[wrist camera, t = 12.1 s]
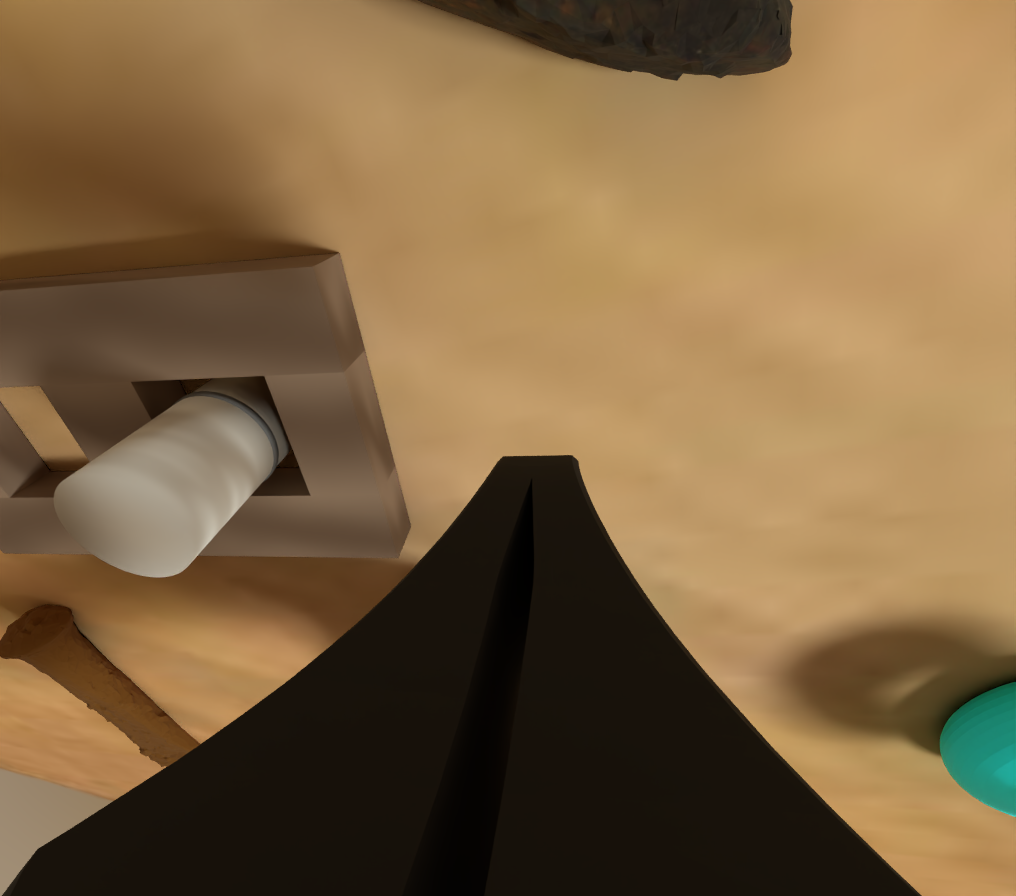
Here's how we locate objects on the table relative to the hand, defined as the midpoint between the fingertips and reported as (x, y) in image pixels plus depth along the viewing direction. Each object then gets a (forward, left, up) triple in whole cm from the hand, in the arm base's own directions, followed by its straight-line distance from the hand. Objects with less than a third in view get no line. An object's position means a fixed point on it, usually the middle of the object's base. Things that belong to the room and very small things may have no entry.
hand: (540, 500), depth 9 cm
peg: (-3, +13, -9) cm, 16 cm away
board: (-3, +17, -9) cm, 20 cm away
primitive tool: (-25, +30, -10) cm, 41 cm away
